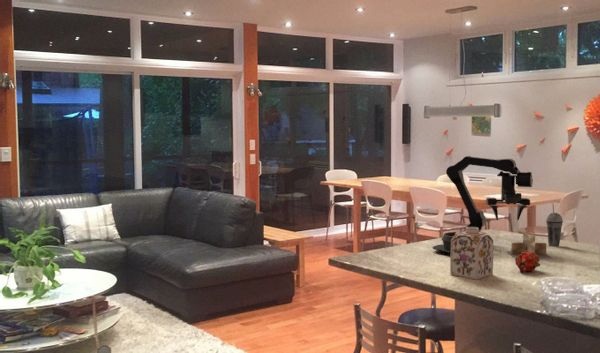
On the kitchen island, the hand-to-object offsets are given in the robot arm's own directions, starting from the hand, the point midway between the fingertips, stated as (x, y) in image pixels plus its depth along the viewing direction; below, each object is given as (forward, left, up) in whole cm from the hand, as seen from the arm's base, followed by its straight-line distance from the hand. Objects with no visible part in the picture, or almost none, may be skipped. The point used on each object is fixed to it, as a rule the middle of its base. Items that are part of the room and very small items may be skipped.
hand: (507, 220), depth 287 cm
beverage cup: (+22, +4, -13) cm, 26 cm away
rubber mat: (+5, -19, -12) cm, 23 cm away
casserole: (-23, -16, -13) cm, 31 cm away
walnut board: (+5, -19, -12) cm, 23 cm away
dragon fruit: (-3, -49, -13) cm, 51 cm away
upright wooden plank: (+5, -19, -12) cm, 23 cm away
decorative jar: (-25, -57, -13) cm, 64 cm away
